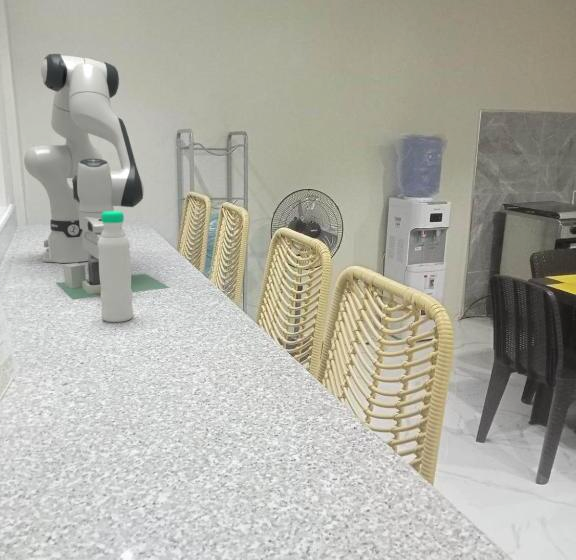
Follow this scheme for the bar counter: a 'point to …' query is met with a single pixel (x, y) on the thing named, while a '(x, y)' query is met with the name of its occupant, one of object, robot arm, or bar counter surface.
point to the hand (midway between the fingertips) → (99, 272)
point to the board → (137, 284)
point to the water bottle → (115, 269)
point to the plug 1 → (74, 275)
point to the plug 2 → (93, 272)
